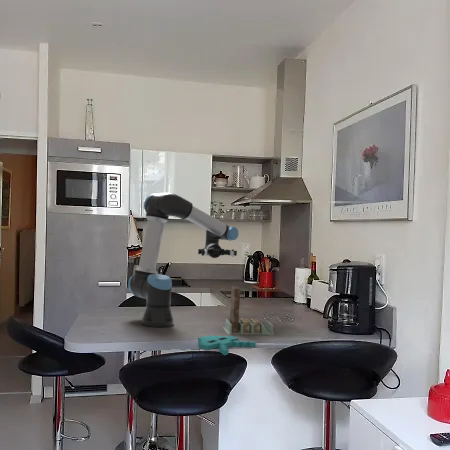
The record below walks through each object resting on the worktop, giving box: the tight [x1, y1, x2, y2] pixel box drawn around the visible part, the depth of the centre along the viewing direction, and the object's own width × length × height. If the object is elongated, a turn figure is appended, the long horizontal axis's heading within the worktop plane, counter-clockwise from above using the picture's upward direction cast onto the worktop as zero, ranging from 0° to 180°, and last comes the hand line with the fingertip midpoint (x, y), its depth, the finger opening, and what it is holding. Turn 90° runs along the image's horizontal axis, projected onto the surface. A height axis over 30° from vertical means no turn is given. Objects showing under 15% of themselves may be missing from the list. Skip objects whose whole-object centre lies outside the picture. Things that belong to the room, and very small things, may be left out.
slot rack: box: [222, 318, 276, 336], centre depth 215 cm, size 22×13×5 cm, turn 99°
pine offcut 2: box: [249, 317, 261, 333], centre depth 215 cm, size 3×8×5 cm, turn 9°
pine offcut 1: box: [239, 317, 250, 333], centre depth 215 cm, size 3×8×5 cm, turn 9°
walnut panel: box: [229, 285, 241, 333], centre depth 214 cm, size 2×8×20 cm, turn 9°
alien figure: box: [197, 335, 256, 356], centre depth 191 cm, size 20×2×20 cm
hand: (219, 253), depth 233 cm, fingers open, 13 cm apart
